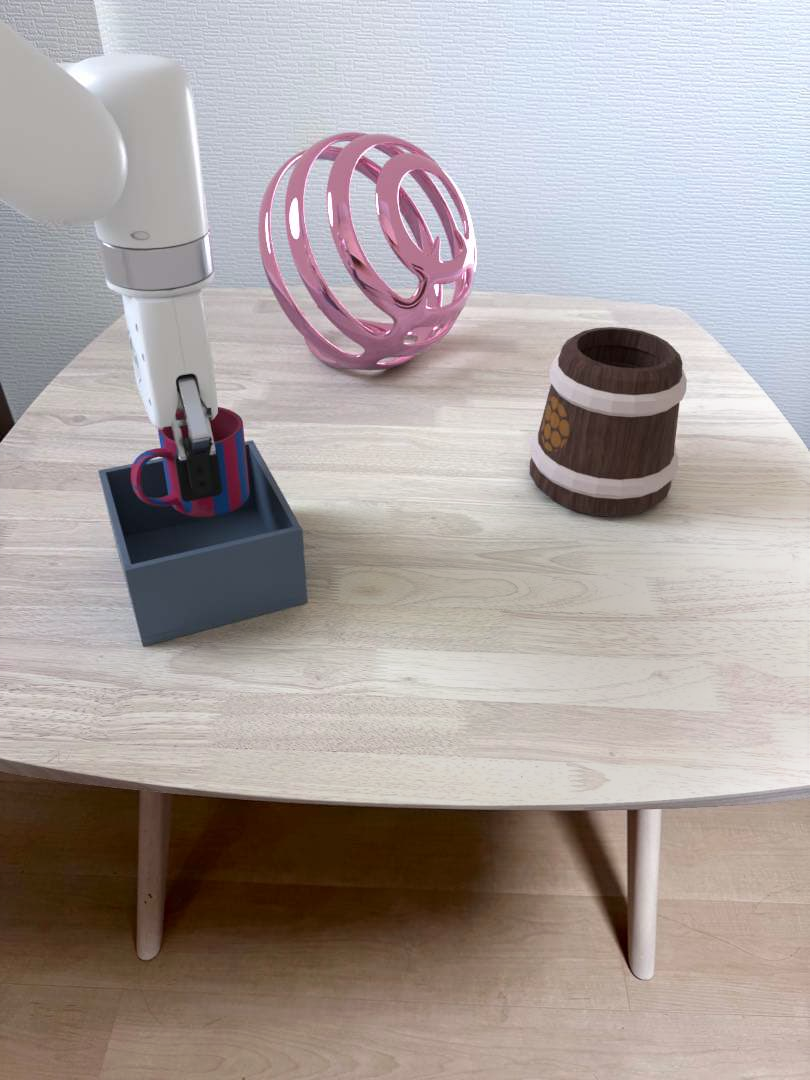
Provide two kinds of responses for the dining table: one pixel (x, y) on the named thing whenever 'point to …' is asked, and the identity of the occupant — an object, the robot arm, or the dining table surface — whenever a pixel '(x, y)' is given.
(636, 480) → the mug
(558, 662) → the dining table surface
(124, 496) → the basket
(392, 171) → the spiral basket
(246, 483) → the cup
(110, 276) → the robot arm
